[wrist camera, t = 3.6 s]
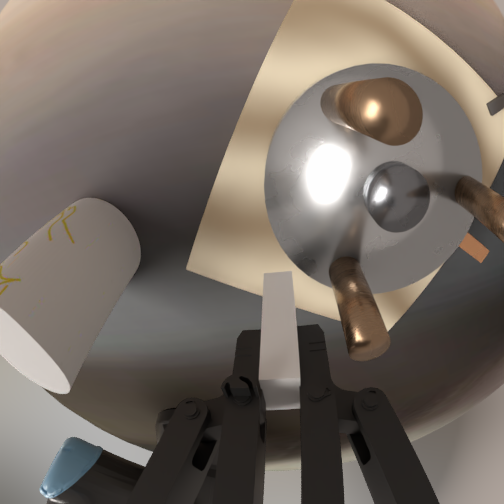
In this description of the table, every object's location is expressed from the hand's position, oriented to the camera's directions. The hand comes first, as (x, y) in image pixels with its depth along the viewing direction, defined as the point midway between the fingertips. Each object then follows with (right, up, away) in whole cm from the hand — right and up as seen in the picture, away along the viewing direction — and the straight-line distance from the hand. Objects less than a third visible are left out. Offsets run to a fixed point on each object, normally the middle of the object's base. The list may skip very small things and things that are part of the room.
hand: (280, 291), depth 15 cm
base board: (+6, +7, +1) cm, 10 cm away
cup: (-14, +3, +5) cm, 16 cm away
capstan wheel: (+8, +6, 0) cm, 10 cm away
